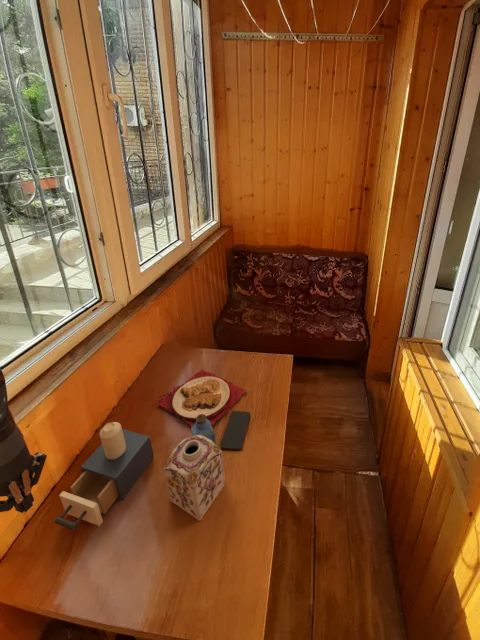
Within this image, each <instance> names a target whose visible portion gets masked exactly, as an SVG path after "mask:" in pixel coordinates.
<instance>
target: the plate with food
mask: <svg viewBox="0 0 480 640" xmlns="http://www.w3.org/2000/svg"><path fill="white" fill-rule="evenodd" d="M246 392H247V389H246V388H243V387H239V386H237V385H236V384H234V383H233V382H231V381H228V380H226V379H224V378H223V377H220V376H218V375H216V374H215V373H211V372H210V371H206V370H205V369H203V368H202V369H200V370H199V371H198V372H197V373H195V374H194V376H192V377H191V378H189V379H188V380H187V381H185V382H184V383H183V384H181V385H177V386H176V387H173V390H171V391H170V392H169V393H168V392H166V393H164V394H162V395H161V396H159V398H160V399H159V400H158V401H157V402H156V403H157V404H158V405H159V406H160V408H164V409H165V410H166V411H167V412H169V413H170V414H172V415H174V416H176V418H178V419H180V417H181V418H182V422H185V423H186V424H188V425H189V426H190V427H192V426H193V425H194V424H195V423H196V417H197V416H198V415H200V414H204V415H205V416H206V419H208V420H209V421H210V423H211V426H214V424H215V423H216V421H217V420H220V418H221V417H222V416H224V415H225V414H227V413H228V412H229V411H230V410H231V409H232V408H233V407H235V405H236V403H237V402H238V401H239V400H240V399H241V397H242V395H244V394H245V393H246Z"/></svg>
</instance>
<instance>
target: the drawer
mask: <svg viewBox="0 0 480 640" xmlns="http://www.w3.org/2000/svg"><path fill="white" fill-rule="evenodd" d="M69 489H70V491H71V493H70V492H67V491H64V490H63V491H61V492H60V494H59V499H60V502H61V504H62V507H63V509H64V511H63V513H61V514H60V515H59V516H57V517H56V518H55V520H54V524H55V525H58V526H61V527H64V528H66V529H68V530H71V531H73V532H74V531H76V530H77V528H78V526H79V524H80V522H81V521H85V522H88V523H90V524H93V525H94V526H98V527H100V526H101V525H102V524H103V522H104V520H103V517H102V515H106V514H107V512H108V511H109V510H110V508H111V507H112V505H113V504H114V503H115V501H116V500H118V499H117V497H118V496H119V493H118V490H117V486H116V483H115V480H114V479H111V478H108V477H105V476H102V475H99V474H96V473H93V472H90V471H87V470H85V471H84V472H83V473H82V472H81V474H80V475H79V477H78V478H76V480H75V481H74V482H73V483H72V484H71V486H69ZM66 515H69V516H72V517H74V518H76V519H77V520H76V521H72V520H70V519H67V518H65V516H66Z"/></svg>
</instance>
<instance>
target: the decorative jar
mask: <svg viewBox="0 0 480 640" xmlns="http://www.w3.org/2000/svg"><path fill="white" fill-rule="evenodd" d="M215 444H216V443H215ZM215 444H214V442H213V441H212V440H210V439H208V438H207V437H205V436H202V435H195V436H192V435H191V436H188V437H185V438H183V439H182V440H181V441H180V442H179V443H178V444H177V445H176V446H175V447H174V448H173V450H172V451H171V453H170V455H169V457H168V458H167V460H166V462H165V464H164V466H163V476H164V480H165V485H166V490H167V495H168V498H169V501H170V502H171V503H173V504H174V505H175V506H177V507H178V508H180V509H182V510H183V511H184V512H185V513H187V514H188V515H190V516H192V517H193V518H194V519H196V520H197V521H199V522H200V521H202V519H203V517H204V516H205V515H206V513H207V512H208V510H209V509H210V508H211V506H212V505H213V503H214V502H215V500H216V499H217V497H218V496H219V494H220V493H221V491H222V490H223V488H224V487H225V485H226V474H225V472H226V471H225V465H224V458H223V452H222V449H221V448H220V447H219V446H218V445H217V444H216V445H215Z"/></svg>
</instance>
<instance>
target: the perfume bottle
mask: <svg viewBox="0 0 480 640" xmlns="http://www.w3.org/2000/svg"><path fill="white" fill-rule="evenodd" d="M191 433H192V434H191V436H195V435H202V436H205V437H207V438H208V439H210V440H212V441H213V442H214V444H215V445H217V444H216V437H215V433H214V429H213V425H211V423H210V421H209V420H208V419H206V416H205V415H204V414H200V415H198V416H197V417H196V423H195V424H194V425H193V426H191Z"/></svg>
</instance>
